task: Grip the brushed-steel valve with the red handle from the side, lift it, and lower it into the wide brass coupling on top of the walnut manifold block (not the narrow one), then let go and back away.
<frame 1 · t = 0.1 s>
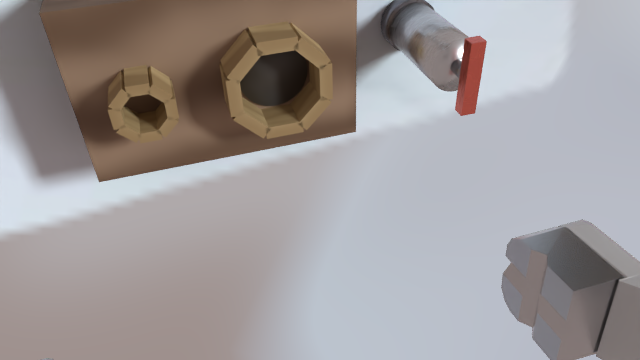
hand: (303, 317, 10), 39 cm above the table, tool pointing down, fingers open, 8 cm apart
valve: (405, 20, 51), on the table
manifold block: (211, 50, 47), on the table
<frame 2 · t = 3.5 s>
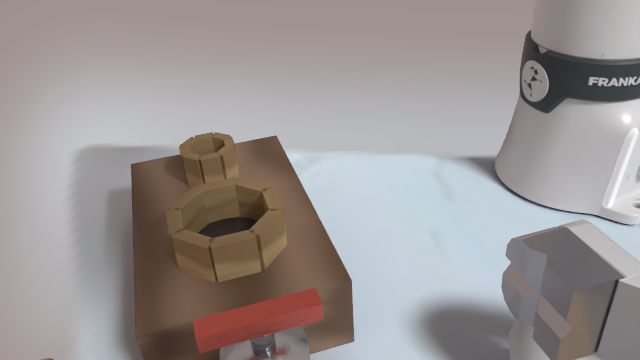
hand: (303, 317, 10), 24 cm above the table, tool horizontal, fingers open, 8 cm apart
manifold block: (233, 268, 47), on the table
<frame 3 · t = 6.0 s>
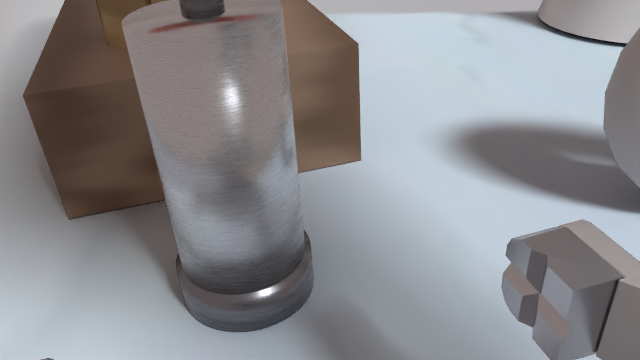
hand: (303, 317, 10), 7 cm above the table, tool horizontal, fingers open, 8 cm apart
valve: (249, 282, 20), on the table
manifold block: (199, 101, 35), on the table
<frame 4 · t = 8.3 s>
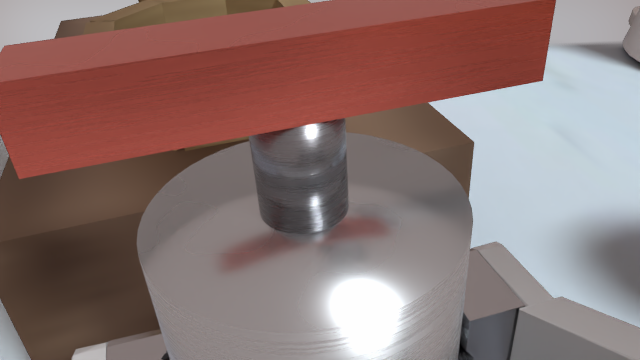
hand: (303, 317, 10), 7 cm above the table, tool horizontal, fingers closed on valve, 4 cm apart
manifold block: (224, 177, 27), on the table
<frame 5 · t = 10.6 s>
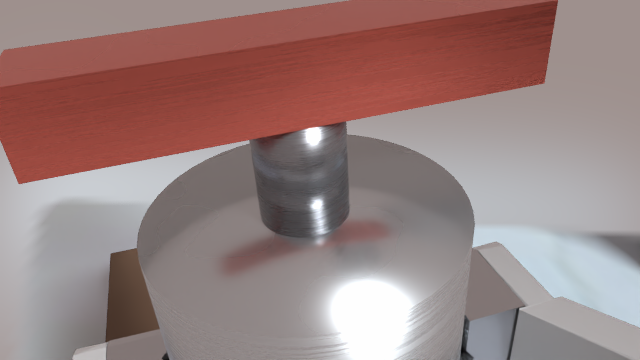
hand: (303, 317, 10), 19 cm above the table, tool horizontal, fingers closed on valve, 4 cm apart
when the fingers open (14 cm above the table, at t = 13.2 s): valve drops 1 cm, resting on manifold block.
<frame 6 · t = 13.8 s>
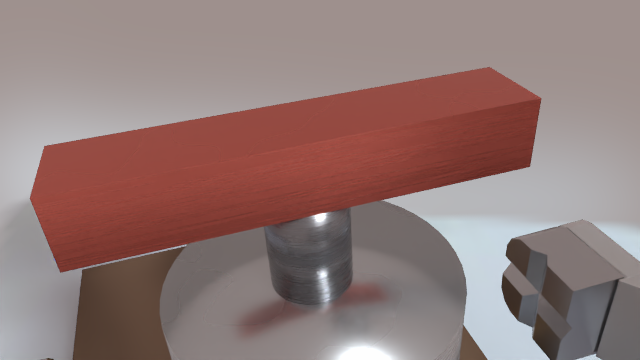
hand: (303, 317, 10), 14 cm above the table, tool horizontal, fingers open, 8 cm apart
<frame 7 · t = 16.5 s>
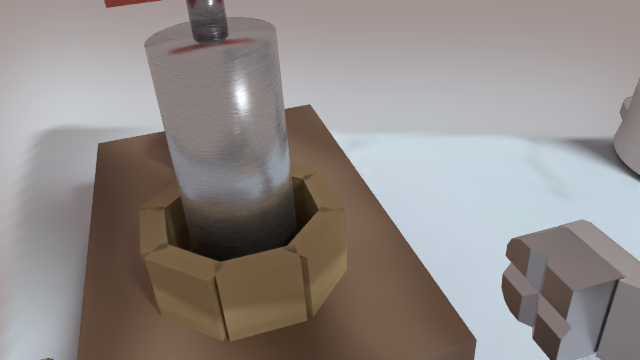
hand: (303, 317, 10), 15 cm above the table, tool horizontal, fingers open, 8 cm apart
valve: (249, 261, 24), point 6 cm above the table, touching manifold block
manifold block: (251, 301, 31), on the table
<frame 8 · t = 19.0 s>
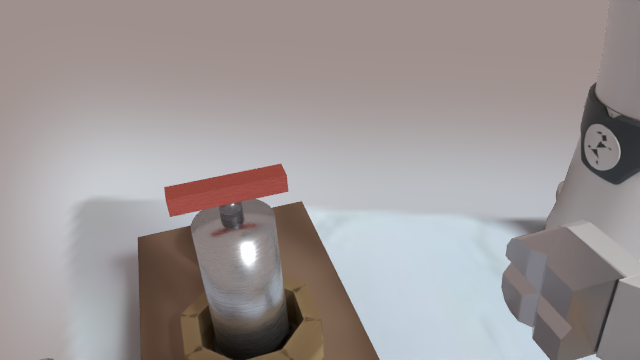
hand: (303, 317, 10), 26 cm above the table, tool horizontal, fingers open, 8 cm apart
valve: (256, 349, 34), point 6 cm above the table, touching manifold block
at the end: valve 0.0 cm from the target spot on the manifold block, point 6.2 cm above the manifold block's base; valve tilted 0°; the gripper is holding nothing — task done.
